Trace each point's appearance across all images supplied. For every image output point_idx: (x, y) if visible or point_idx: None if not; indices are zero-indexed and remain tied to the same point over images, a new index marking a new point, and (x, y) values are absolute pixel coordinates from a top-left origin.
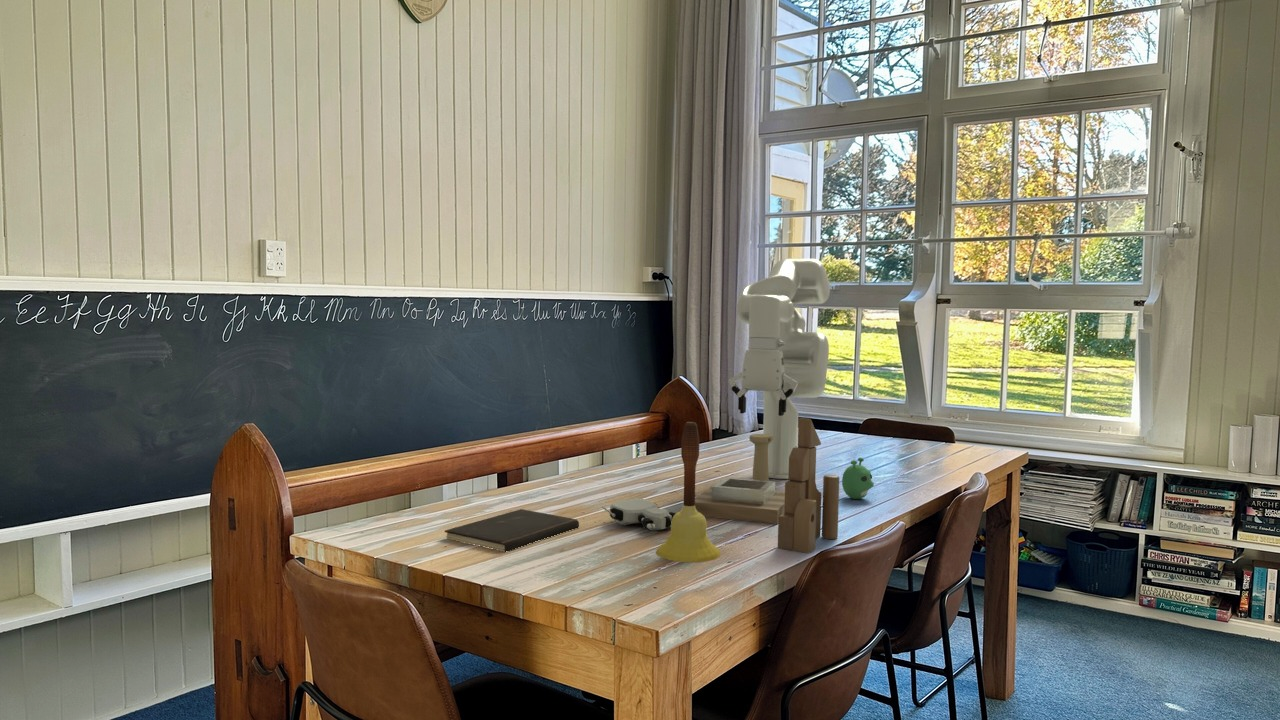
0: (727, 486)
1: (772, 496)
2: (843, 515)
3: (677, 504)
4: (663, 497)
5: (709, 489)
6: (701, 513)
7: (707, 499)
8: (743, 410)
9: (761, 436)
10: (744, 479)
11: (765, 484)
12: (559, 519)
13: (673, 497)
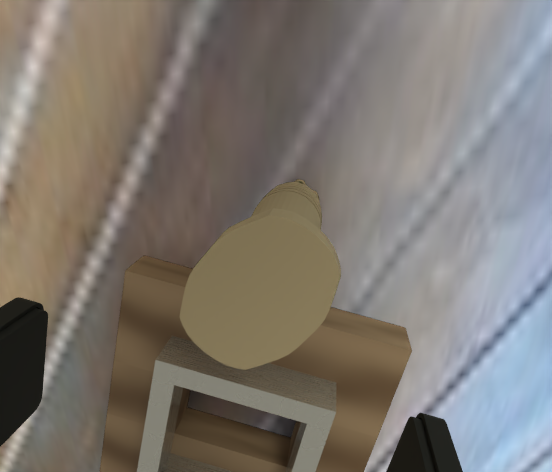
0: (176, 399)
1: None
2: (538, 437)
3: (63, 357)
4: (3, 279)
5: (122, 339)
6: None
7: (138, 459)
8: (26, 406)
9: (256, 335)
10: (224, 390)
11: (298, 458)
12: None
13: (30, 275)
